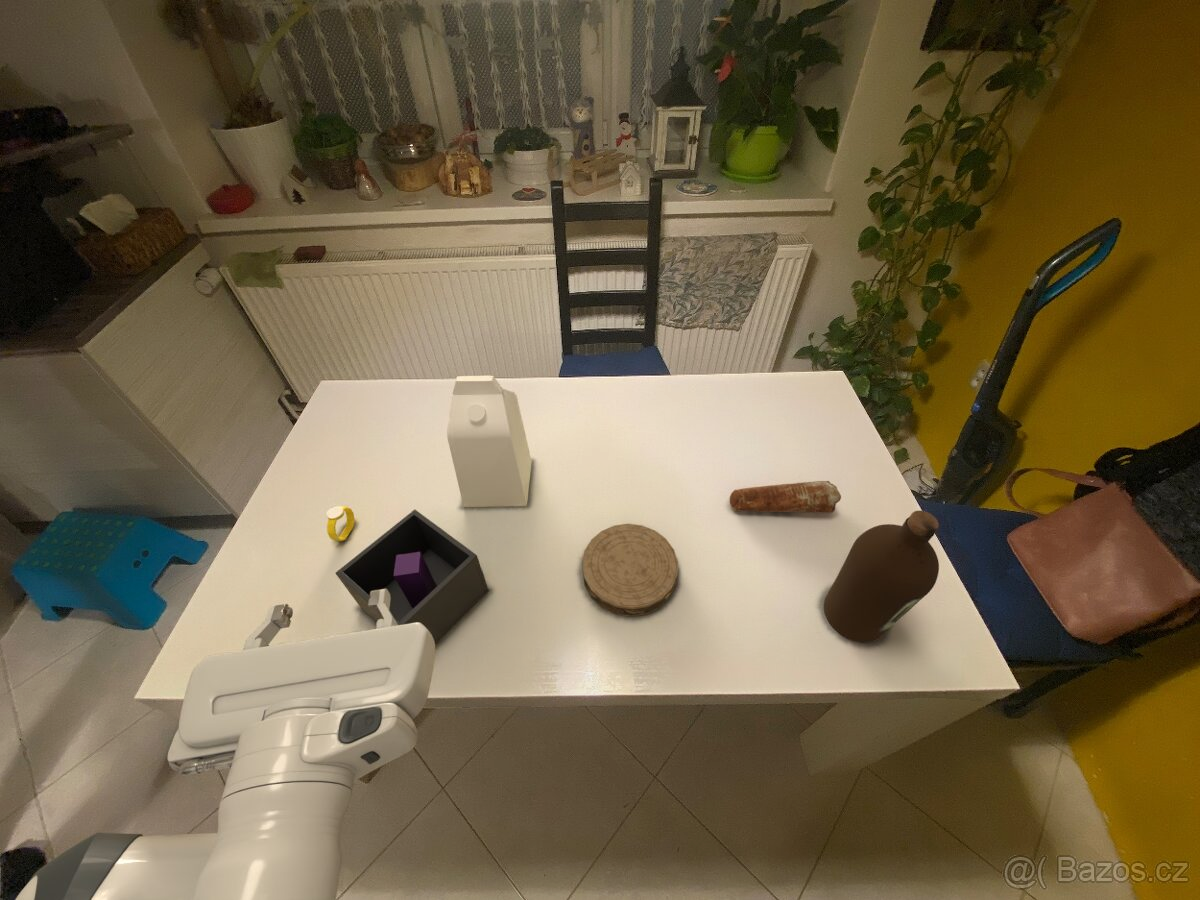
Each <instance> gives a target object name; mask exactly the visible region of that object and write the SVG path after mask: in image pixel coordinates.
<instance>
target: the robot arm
mask: <svg viewBox="0 0 1200 900" xmlns="http://www.w3.org/2000/svg"><path fill="white" fill-rule="evenodd" d="M370 596H371V598H370V599H369V603H368V606H369V608H370V609H372V612H373V613H374V614H377V613H381V614H382V616H383V618H384V620H383V619H378V620H377V622H376V625H375V626H376V627H375V628H373V629H367V630H361V631H360V630H359V631H354V632H349V633H342V634H341V633H340V634H336V635H330V636H323V637H317V638H310V639H305V640H298V641H292V642H286V643H279V644H273V645H270V644H271V642H272V641H273V640H274V638H275V637H276V636H277V635H278V633H279V632H280V631H281V629H286V628H290V626H291V622H292V620H291V619H292V617H293V615H294V610H293V608H292V607H291V606H290V605H289V604H288V603H282V604H275V605H271V606H269V608H268V610H267V614H266V616H265V619H264V621H262V622H261V624H260V625H259V626H258V627H257V628H256V629H255V630H254V631H253V632H252V633H251V634H250V635H249V636H248V637H247V638H246V640H245V643H244V646H243V649H242V650H241V649H240V650H235V651H229V652H223V653H215V654H210V655H207V656H205V657H204V658H203V659H202V660H201V661H200V662H198V663H197V664H196V666H195V667H194V668H193V669H192V671H191V673H190V677H189V680H188V683H187V686H186V688H185V689H186V690H185V693H184V697H183V701H182V705H181V710H180V714H179V715H180V716H179V721H178V729H177V730H176V732H175V734H174V736H173V738H172V742H171V744H170V747H169V749H168V753H167V762H168V764H169V767H170V768H171V769H172V770H174V771H176V772H179V775H180V776H183V777H187V776H195V775H199V774H201V773H204V772H209V771H210V772H211V771H223V770H228V769H229V772H228V776H227V779H226V781H225V785H224V789H223V792H222V795H221V799H220V803H219V807H218V811H217V832H205V833H203V832H202V833H183V834H162V835H143V834H142V833H119V832H117V833H115V832H96V833H94V834H92V835H90V836H89V837H87V838H85V839H84V840H82V841H79V842H78V843H76V844H75V845H74V846H71V847H70V848H68V849H66V850H65V851H63V852H62V853H60V854H59V855H57V856H56V857H54V858H53V859H52V860H50V861H49V862H47V863H46V864H44V865H43V866H42V867H41V868H39V869H38V870H37V871H36V872H34V873H33V875H32V876H31V878H30V879H29V880H28V882H27V884H26V885H25V886H24V887H23V889H21V890H20V892H19V894H18V895H17V897H15V899H14V900H337V895H338V894H337V893H338V889H339V882H340V876H341V875H340V874H341V869H342V861H343V860H342V859H343V857H342V848H341V830H342V825H343V821H344V817H345V815H346V812H347V810H348V807H349V804H350V802H351V799H352V793H353V788H354V782H357V780H360V779H361V778H363V777H364V776H366V775H368V774H369V773H372V772H373V771H375V770H377V769H379V768H380V767H383V766H385V765H386V764H388V763H390V762H392V761H394V760H397V759H398V758H400V757H402V756H405V755H406V754H408V753H410V751H412V750H413V749H414V748H415V747H416V745H417V741H418V729H417V725H416V724H415V721H413V719H415V718H416V717H417V716H418V715H419V714H420V713H421V712H422V710H423V709H424V707H425V705H426V703H427V700H428V697H429V693H430V689H431V683H432V678H433V672H434V665H435V655H436V645H435V642H434V639H433V637H432V635H431V633H430V632H429V631H428V629H427V628H426V627H425V626H424V625H423V624H421V623H419V622H416V623H410V624H404V625H398V624H397V623H396V621H395V619H394V617H393V616H392V614H391V612H390V611H389V608H390V600H391V598H390V593H389V592H388V590H387V589H380V590H374V591H371V592H370Z"/></svg>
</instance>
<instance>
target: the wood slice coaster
mask: <svg viewBox="0 0 1200 900" xmlns="http://www.w3.org/2000/svg"><path fill="white" fill-rule="evenodd" d="M581 568H582V570H581V571H582V577H583V584H584V587H585V589H586V592H587V593H588V595H589V596H590V598H591V599H592V600H593V601H594V602H595V603H596V604H597V605H598V606H599V607H601V608H602V609H603V610H606V611H607V612H610V613H612V614H615V615H617V616H624V617H632V618H633V617H639V616H645V615H648V614H651V613H652V612H654V611H656V610H658V609H660V608H661V607H663V605H664V604H665V603H666V602H667V601H668V600H669V599H670V598H671V596H672V594H673V592H674V589H675V587H676V584H677V579H678V568H679V561H678V558H677V555H676V551H675V549H674V547H673V546H672V545H671V543H670V542H669V541H668V539H667V538H666V537H664V536H663V535H662V534H660V533H659V532H658V531H657V530H655V529H653V528H650V527H647V526H645V525H643V524H633V523H623V524H616V525H612V526H610V527H608V528H605V529H603V530H601V531H600V532H599V533H597V534H596V535H595V536H593V538H591V539H590V541H589V543H588V544H587V545H586V547H585V549H584V551H583V557H582V560H581Z"/></svg>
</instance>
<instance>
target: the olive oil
mask: <svg viewBox="0 0 1200 900" xmlns="http://www.w3.org/2000/svg"><path fill="white" fill-rule="evenodd" d="M939 526H940V524H939V521H938V519H937V517H935V516H934V515H933V514H931V513H930V512H927V511H925V510H914V511H913V512H911V514H910V515H909V517H907V518H906V519H905V521H904V522H903V524H902V525H900V524H893V523H892V524H891V523H888V524H887V523H886V524H878V525H876V526H873V527H870V528H869V529H867V530H865V531H864V532H863V533H861V534H860V535H858V537H857V538H856V539H855V541H854V542H853V544H852V545H851V547H850V550H849V552H848V553H847V556H846V557H845V560H844V561H843V564H842V566H841V568H840V570H839V571H838V574H837V576H836V578H835V579H834V581H833V583H832V584H831V587H830V588H829V590H828V592H827V593H826V595H825V598H824V601H823V612H824V615H825V618H826V619H827V621H828V623H829V624H830V626H831V627H832V628H833V629H834V630H835V631H836V632H837V633H839V634H840V635H841V636H843V637H844V638H846V639H848V640H851V641H853V642H858V643H863V644H864V643H867V644H868V643H873V642H875V641H877V640H879V639H880V638H882V637H883V636H884V635H885V634H886V633H887V632H888V631H889V630H890V629H891V628H892V627H893V626H894V625H895V624H896V623H898V621H900V620H901V619H902V618H903V617H904V616H905V615H906V614H907V613H908V612H910V611H911V609H913V608H914V607H915V606H916V605H917V604H918V603H919V602H921V600H923V599H924V598H925V597H926V596H927V595H928V594H929V593H930V592H931V591H932V589H933V588H934V587H935V585H936V583H937V580H938V577H939V572H940V562H939V557H938V555H937V553H936V550H935V549H934V547H933V545H932V544H931V543H930V540H931V539H932V538H933V537H934V536H935V533H936V531H937V530H938V528H939Z"/></svg>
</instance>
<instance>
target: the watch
mask: <svg viewBox="0 0 1200 900" xmlns="http://www.w3.org/2000/svg"><path fill="white" fill-rule="evenodd" d="M325 514H326V517H327V519H328V520H327V524H326V531H327V535H328V537H329V539H330V540H332V541H334V542H335V541H336V542H343V541H345V540H347V539H348V536H349V535H350V533H351V532H352V530H353V529H354V526H355V514H354V511H353V510H352V508H350V507H349V506H341V505H339V506H338V505H337V506H333V507H331V508H329V509H328V510H327V511H326V513H325ZM344 515H345V518H346V522H345V527H344V529H343V530H342V532H341V533H340V535H339V536H338V534H337V532H336V531H337V530H336V529H337V528H336V524H337V521H338V520H340V519H342V518H343V516H344Z"/></svg>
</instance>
